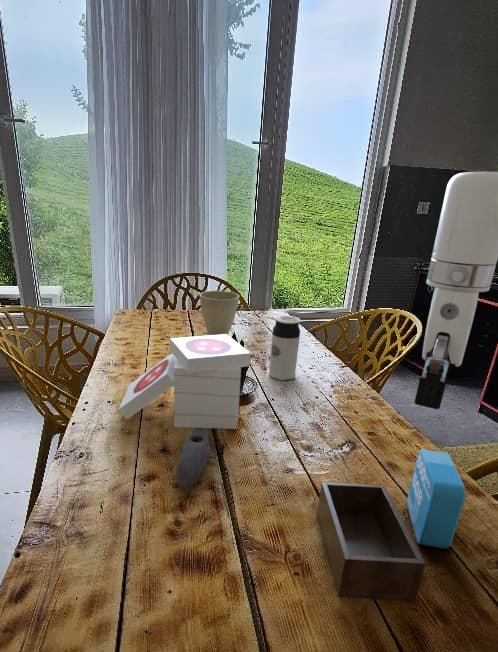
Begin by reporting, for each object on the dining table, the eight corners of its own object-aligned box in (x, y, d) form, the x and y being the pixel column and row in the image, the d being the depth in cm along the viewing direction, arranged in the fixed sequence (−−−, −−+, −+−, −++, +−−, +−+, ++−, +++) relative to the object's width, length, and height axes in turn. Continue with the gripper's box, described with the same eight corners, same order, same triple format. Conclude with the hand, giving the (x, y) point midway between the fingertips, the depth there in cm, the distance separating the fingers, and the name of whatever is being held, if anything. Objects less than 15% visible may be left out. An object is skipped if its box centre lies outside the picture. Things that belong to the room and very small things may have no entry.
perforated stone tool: (194, 501, 79) (194, 468, 77) (166, 496, 80) (165, 463, 78) (213, 457, 93) (215, 427, 90) (189, 453, 94) (190, 424, 91)
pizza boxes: (131, 394, 119) (129, 330, 113) (243, 398, 120) (247, 334, 113) (116, 429, 102) (112, 355, 95) (247, 434, 102) (252, 361, 95)
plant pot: (197, 329, 178) (198, 290, 172) (233, 330, 179) (236, 290, 173) (199, 341, 164) (201, 299, 158) (239, 341, 166) (242, 299, 160)
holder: (377, 517, 77) (384, 485, 75) (414, 601, 61) (425, 563, 59) (316, 514, 77) (321, 481, 75) (338, 596, 62) (345, 559, 59)
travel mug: (287, 369, 141) (293, 314, 134) (299, 379, 134) (306, 321, 127) (264, 371, 138) (269, 315, 132) (275, 381, 131) (281, 323, 125)
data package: (406, 501, 81) (419, 445, 77) (432, 506, 81) (447, 449, 76) (418, 548, 71) (435, 486, 66) (448, 554, 70) (467, 491, 65)
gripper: (491, 289, 49) (455, 424, 56) (492, 270, 63) (462, 380, 70) (419, 281, 53) (393, 409, 59) (435, 264, 67) (412, 370, 73)
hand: (430, 393), depth 65 cm, fingers open, 9 cm apart
